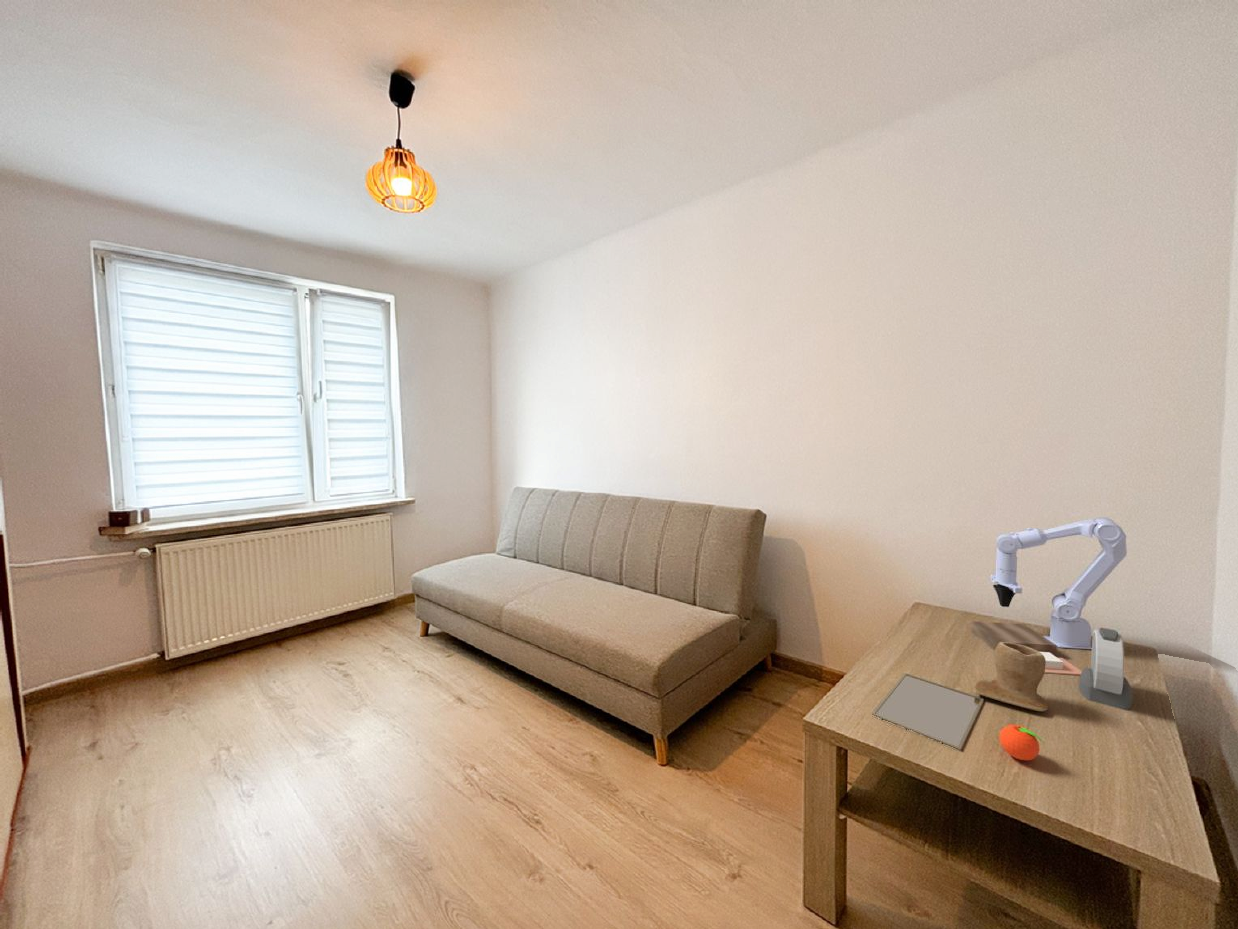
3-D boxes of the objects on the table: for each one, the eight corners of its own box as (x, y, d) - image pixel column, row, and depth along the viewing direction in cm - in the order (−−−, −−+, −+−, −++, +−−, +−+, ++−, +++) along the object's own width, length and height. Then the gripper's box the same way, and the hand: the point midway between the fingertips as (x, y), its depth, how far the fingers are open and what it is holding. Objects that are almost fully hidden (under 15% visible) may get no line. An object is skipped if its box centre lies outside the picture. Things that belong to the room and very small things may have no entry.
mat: (1061, 659, 147) (1062, 657, 147) (1086, 675, 138) (1086, 674, 138) (996, 655, 151) (996, 653, 151) (1015, 671, 141) (1015, 669, 141)
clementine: (1046, 758, 105) (1047, 728, 105) (1044, 775, 101) (1045, 744, 100) (1000, 742, 111) (1001, 713, 110) (996, 757, 106) (998, 727, 106)
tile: (1063, 661, 141) (1062, 669, 141) (1049, 652, 146) (1049, 659, 147) (1028, 659, 142) (1028, 667, 143) (1016, 650, 148) (1015, 657, 148)
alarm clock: (1136, 716, 119) (1140, 647, 118) (1080, 701, 126) (1083, 635, 124) (1128, 688, 131) (1132, 625, 129) (1077, 676, 138) (1080, 616, 136)
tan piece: (1046, 698, 127) (1049, 645, 126) (1048, 720, 118) (1051, 663, 117) (976, 680, 137) (978, 630, 136) (973, 698, 128) (975, 646, 127)
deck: (1023, 635, 164) (1024, 624, 164) (1055, 657, 149) (1056, 645, 148) (972, 632, 168) (972, 621, 167) (998, 653, 152) (998, 641, 152)
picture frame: (960, 753, 108) (984, 702, 128) (960, 749, 108) (984, 698, 127) (871, 717, 122) (904, 676, 141) (871, 713, 122) (904, 672, 141)
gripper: (981, 562, 173) (980, 598, 174) (1005, 574, 159) (1004, 613, 160) (1003, 562, 172) (1001, 598, 173) (1029, 575, 158) (1027, 614, 159)
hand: (1004, 606), depth 166 cm, fingers closed
